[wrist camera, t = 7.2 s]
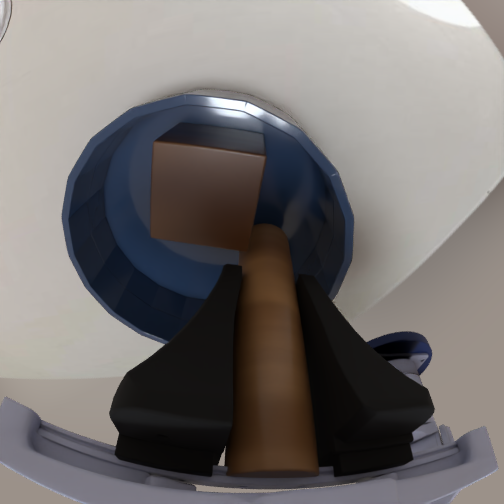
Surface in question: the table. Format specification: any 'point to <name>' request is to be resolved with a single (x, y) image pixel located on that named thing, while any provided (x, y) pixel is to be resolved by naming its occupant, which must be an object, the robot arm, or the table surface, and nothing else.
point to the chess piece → (4, 15)
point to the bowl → (184, 254)
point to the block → (206, 185)
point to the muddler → (270, 368)
